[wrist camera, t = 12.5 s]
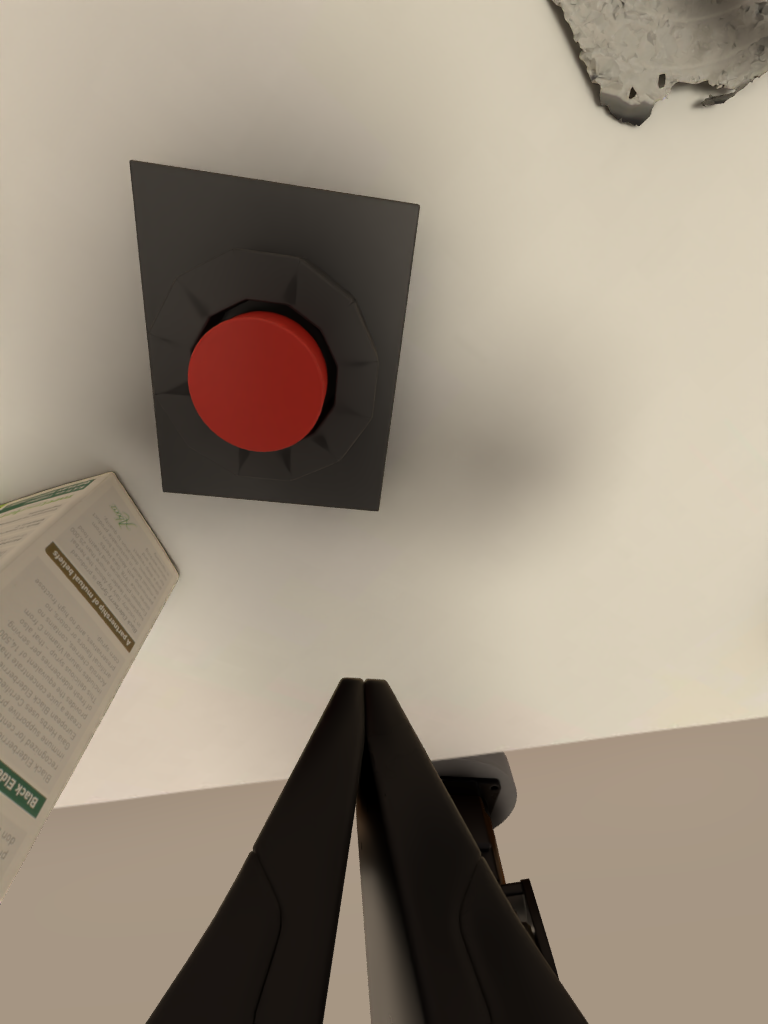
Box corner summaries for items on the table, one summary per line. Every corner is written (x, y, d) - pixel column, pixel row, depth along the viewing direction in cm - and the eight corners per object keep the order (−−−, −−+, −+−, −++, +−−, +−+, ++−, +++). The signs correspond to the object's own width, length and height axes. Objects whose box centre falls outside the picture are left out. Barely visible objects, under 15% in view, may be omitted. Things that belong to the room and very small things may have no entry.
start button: (323, 438, 15) (319, 458, 14) (208, 426, 15) (191, 445, 13) (332, 319, 14) (328, 326, 12) (202, 302, 13) (182, 308, 12)
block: (376, 487, 20) (380, 536, 17) (182, 469, 19) (142, 515, 16) (413, 211, 15) (428, 196, 12) (159, 172, 15) (95, 144, 11)
